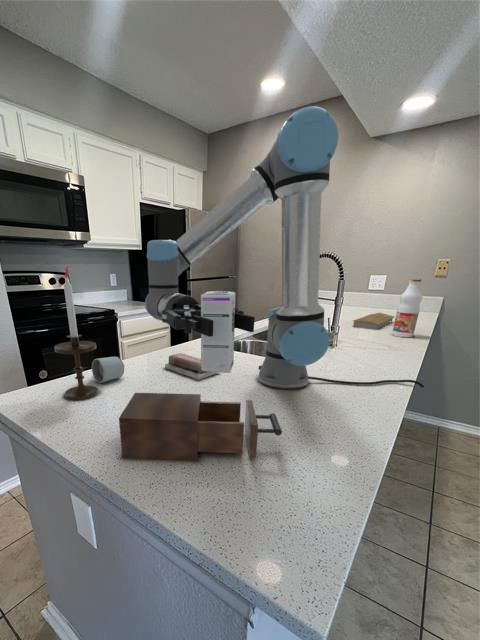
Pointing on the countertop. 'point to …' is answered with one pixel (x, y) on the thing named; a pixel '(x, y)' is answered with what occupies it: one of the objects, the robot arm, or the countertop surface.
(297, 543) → the countertop surface
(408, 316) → the fruit juice
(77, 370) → the candlestick
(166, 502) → the countertop surface
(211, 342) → the syrup box
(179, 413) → the cabinet
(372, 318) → the brown flat block
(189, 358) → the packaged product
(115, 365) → the light blue cylinder
